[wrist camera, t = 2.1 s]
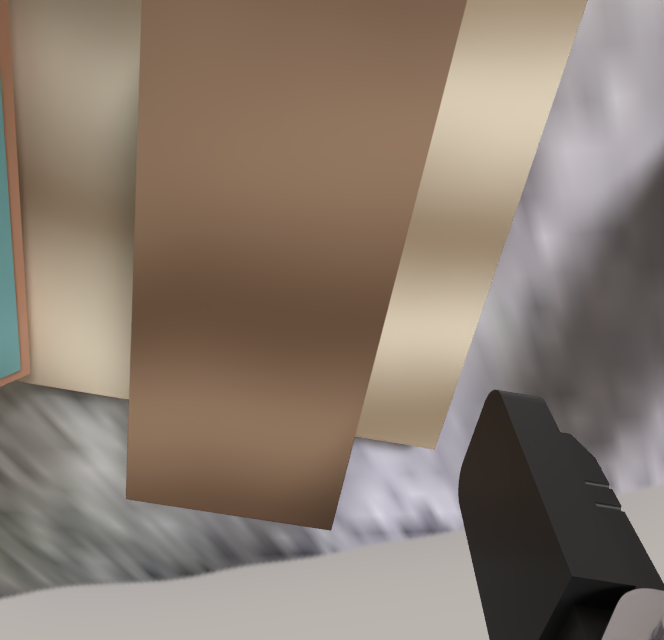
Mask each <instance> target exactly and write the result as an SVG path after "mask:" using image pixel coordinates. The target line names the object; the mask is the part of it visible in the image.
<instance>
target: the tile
mask: <svg viewBox="0 0 664 640" xmlns="http://www.w3.org/2000/svg"><path fill="white" fill-rule="evenodd" d="M29 374H31V373H30V357H29V340H28V324H27V308H26V291H25V275H24V259H23V242H22V226H21V210H20V193H19V177H18V161H17V144H16V128H15V112H14V95H13V79H12V63H11V46H10V30H9V14H8V0H0V387H1V386H3V385H6V384H8V383H10V382H13V381H15V380H17V379H19V378H22V377H24V376H26V375H29Z"/></svg>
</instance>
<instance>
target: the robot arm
mask: <svg viewBox="0 0 664 640" xmlns="http://www.w3.org/2000/svg"><path fill="white" fill-rule="evenodd" d="M458 496H459V504H460V509H461V514H462V518H463V522H464V527H465V531H466V536H467V540H468V545H469V549H470V554H471V558H472V563H473V567H474V572H475V576H476V581H477V585H478V589H479V593H480V598H481V602H482V607H483V612H484V616H485V621H486V625H487V630H488V634H489V639H490V640H664V583H663V582H662V580H661V578H660V576H659V574H658V573H657V571H656V569H655V567H654V565H653V563H652V561H651V560H650V558H649V556H648V554H647V553H646V550H645V549H644V547H643V545H642V543H641V541H640V539H639V537H638V536H637V534H636V532H635V530H634V528H633V526H632V525H631V523H630V521H629V519H628V518H627V516H626V514H625V512H622V511H621V504H620V503H619V501H618V499H617V497H616V495H615V493H614V492H613V490H612V489H609V482H608V481H607V479H606V477H605V475H604V473H603V471H602V470H601V468H600V466H599V464H598V462H597V460H596V459H595V457H593V456H592V455H591V454H590V453H589V452H588V451H587V450H586V449H585V448H584V447H583V446H582V445H581V444H580V443H579V442H578V441H577V440H576V439H575V438H574V437H573V436H572V435H571V434H567V433H561V432H560V431H559V429H558V427H557V425H556V423H555V421H554V419H553V417H552V415H551V413H550V411H549V409H548V407H547V405H546V403H545V401H544V400H543V399H542V398H540V397H535V396H529V395H523V394H518V393H512V392H506V391H500V390H493V391H492V392H490V394H489V395H488V397H487V399H486V401H485V403H484V406H483V409H482V412H481V414H480V417H479V420H478V422H477V425H476V428H475V431H474V433H473V436H472V439H471V442H470V444H469V447H468V450H467V453H466V455H465V458H464V461H463V464H462V467H461V471H460V477H459V487H458Z"/></svg>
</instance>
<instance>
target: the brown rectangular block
mask: <svg viewBox="0 0 664 640" xmlns="http://www.w3.org/2000/svg"><path fill="white" fill-rule="evenodd" d="M466 3H467V0H142V5H141V36H140V68H139V100H138V131H137V163H136V195H135V227H134V258H133V290H132V322H131V353H130V385H129V417H128V449H127V480H126V499H129V500H135V501H142V502H148V503H155V504H161V505H168V506H174V507H181V508H187V509H194V510H201V511H207V512H214V513H220V514H227V515H233V516H240V517H246V518H253V519H259V520H266V521H272V522H279V523H286V524H292V525H299V526H305V527H312V528H318V529H325V530H331V529H332V525H333V521H334V517H335V513H336V509H337V505H338V501H339V497H340V494H341V490H342V486H343V482H344V478H345V474H346V470H347V466H348V462H349V459H350V455H351V451H352V447H353V443H354V439H355V435H356V431H357V427H358V424H359V420H360V416H361V412H362V408H363V404H364V400H365V396H366V392H367V389H368V385H369V381H370V377H371V373H372V369H373V365H374V361H375V357H376V354H377V350H378V346H379V342H380V338H381V334H382V330H383V326H384V322H385V319H386V315H387V311H388V307H389V303H390V299H391V295H392V291H393V287H394V283H395V280H396V276H397V272H398V268H399V264H400V260H401V256H402V252H403V248H404V245H405V241H406V237H407V233H408V229H409V225H410V221H411V217H412V213H413V210H414V206H415V202H416V198H417V194H418V190H419V186H420V182H421V178H422V175H423V171H424V167H425V163H426V159H427V155H428V151H429V147H430V143H431V140H432V136H433V132H434V128H435V124H436V120H437V116H438V112H439V108H440V105H441V101H442V97H443V93H444V89H445V85H446V81H447V77H448V73H449V70H450V66H451V62H452V58H453V54H454V50H455V46H456V42H457V38H458V34H459V31H460V27H461V23H462V19H463V15H464V11H465V7H466Z"/></svg>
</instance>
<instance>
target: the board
mask: <svg viewBox="0 0 664 640" xmlns="http://www.w3.org/2000/svg"><path fill="white" fill-rule="evenodd" d="M587 1H588V0H467V3H466V7H465V11H464V15H463V19H462V23H461V27H460V31H459V34H458V38H457V42H456V46H455V50H454V54H453V58H452V62H451V66H450V70H449V73H448V77H447V81H446V85H445V89H444V93H443V97H442V101H441V105H440V108H439V112H438V116H437V120H436V124H435V128H434V132H433V136H432V140H431V143H430V147H429V151H428V155H427V159H426V163H425V167H424V171H423V175H422V178H421V182H420V186H419V190H418V194H417V198H416V202H415V206H414V210H413V213H412V217H411V221H410V225H409V229H408V233H407V237H406V241H405V245H404V248H403V252H402V256H401V260H400V264H399V268H398V272H397V276H396V280H395V283H394V287H393V291H392V295H391V299H390V303H389V307H388V311H387V315H386V319H385V322H384V326H383V330H382V334H381V338H380V342H379V346H378V350H377V354H376V357H375V361H374V365H373V369H372V373H371V377H370V381H369V385H368V389H367V392H366V396H365V400H364V404H363V408H362V412H361V416H360V420H359V424H358V427H357V431H356V435H355V437H361V438H367V439H374V440H380V441H386V442H392V443H398V444H404V445H410V446H417V447H423V448H429V449H435V447H436V444H437V441H438V439H439V436H440V433H441V430H442V427H443V424H444V421H445V418H446V415H447V412H448V409H449V406H450V403H451V400H452V397H453V394H454V392H455V389H456V386H457V383H458V380H459V377H460V374H461V371H462V368H463V365H464V362H465V359H466V356H467V353H468V350H469V347H470V345H471V342H472V339H473V336H474V333H475V330H476V327H477V324H478V321H479V318H480V315H481V312H482V309H483V306H484V303H485V300H486V298H487V295H488V292H489V289H490V286H491V283H492V280H493V277H494V274H495V271H496V268H497V265H498V262H499V259H500V256H501V253H502V251H503V248H504V245H505V242H506V239H507V236H508V233H509V230H510V227H511V224H512V221H513V218H514V215H515V212H516V209H517V206H518V203H519V201H520V198H521V195H522V192H523V189H524V186H525V183H526V180H527V177H528V174H529V171H530V168H531V165H532V162H533V159H534V156H535V154H536V151H537V148H538V145H539V142H540V139H541V136H542V133H543V130H544V127H545V124H546V121H547V118H548V115H549V112H550V109H551V107H552V104H553V101H554V98H555V95H556V92H557V89H558V86H559V83H560V80H561V77H562V74H563V71H564V68H565V65H566V62H567V60H568V57H569V54H570V51H571V48H572V45H573V42H574V39H575V36H576V33H577V30H578V27H579V24H580V21H581V18H582V15H583V13H584V10H585V7H586V4H587ZM141 5H142V0H8V14H9V30H10V46H11V63H12V79H13V95H14V112H15V128H16V144H17V161H18V177H19V193H20V210H21V226H22V242H23V259H24V275H25V291H26V308H27V324H28V340H29V357H30V373H31V374H29V375H26V376H24V377H22V378H19V379H17V380H15V381H18V382H24V383H30V384H36V385H42V386H48V387H55V388H61V389H67V390H73V391H79V392H85V393H91V394H98V395H104V396H110V397H116V398H122V399H128V400H129V385H130V353H131V322H132V290H133V258H134V227H135V195H136V163H137V131H138V100H139V68H140V36H141Z"/></svg>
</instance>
